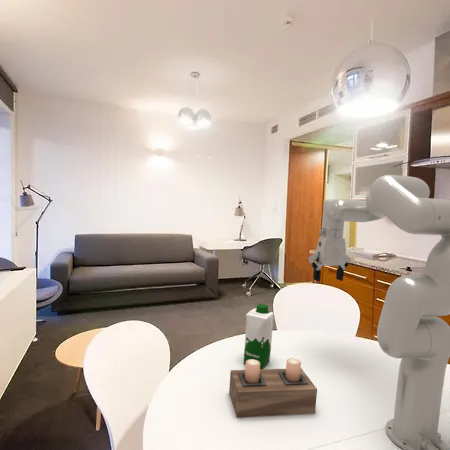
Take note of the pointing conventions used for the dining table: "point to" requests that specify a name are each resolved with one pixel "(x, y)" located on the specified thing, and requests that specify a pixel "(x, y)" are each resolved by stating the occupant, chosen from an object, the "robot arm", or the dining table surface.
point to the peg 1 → (252, 371)
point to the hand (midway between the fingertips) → (328, 280)
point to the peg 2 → (293, 370)
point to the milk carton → (258, 335)
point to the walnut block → (271, 394)
